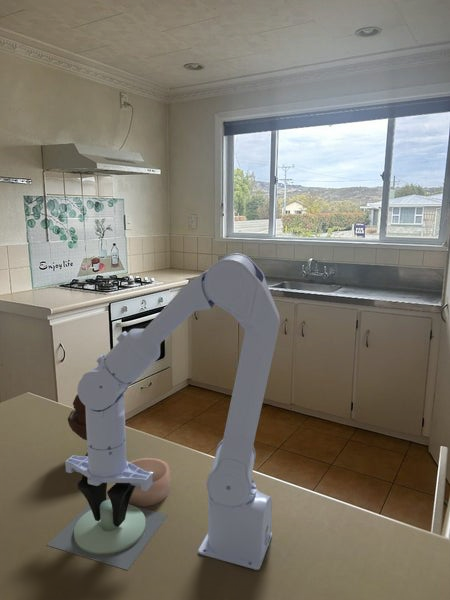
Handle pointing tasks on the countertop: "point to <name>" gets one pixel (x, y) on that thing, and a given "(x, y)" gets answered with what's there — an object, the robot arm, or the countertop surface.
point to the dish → (160, 482)
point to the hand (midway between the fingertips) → (110, 519)
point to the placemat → (119, 559)
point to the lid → (109, 530)
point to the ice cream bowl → (78, 419)
